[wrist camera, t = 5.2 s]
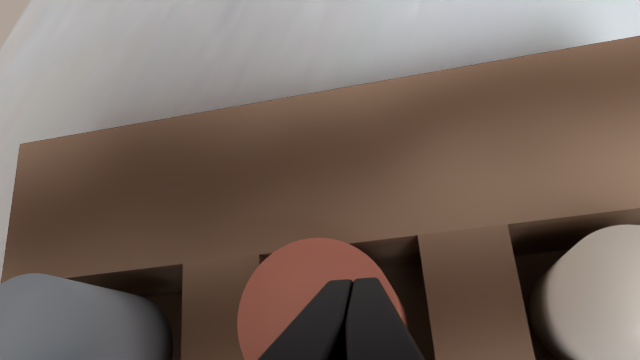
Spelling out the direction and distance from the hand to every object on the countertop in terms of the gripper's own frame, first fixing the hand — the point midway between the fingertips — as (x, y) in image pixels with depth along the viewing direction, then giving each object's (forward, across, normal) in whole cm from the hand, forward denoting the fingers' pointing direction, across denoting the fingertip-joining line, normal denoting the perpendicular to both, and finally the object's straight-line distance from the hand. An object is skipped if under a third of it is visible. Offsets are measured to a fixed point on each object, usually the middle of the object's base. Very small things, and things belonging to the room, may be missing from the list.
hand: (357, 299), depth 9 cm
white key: (+6, -6, +6) cm, 10 cm away
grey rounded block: (+4, +8, +5) cm, 10 cm away
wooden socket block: (+10, +1, +6) cm, 12 cm away
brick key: (+4, +1, +4) cm, 6 cm away
